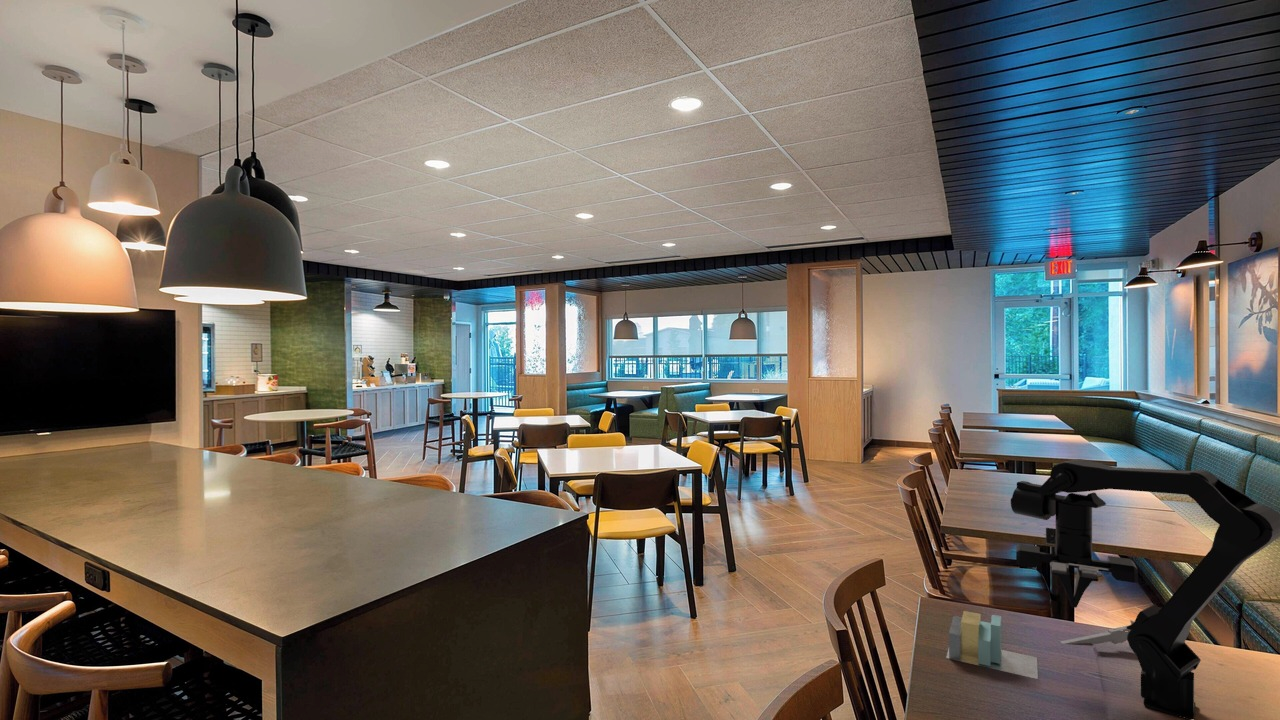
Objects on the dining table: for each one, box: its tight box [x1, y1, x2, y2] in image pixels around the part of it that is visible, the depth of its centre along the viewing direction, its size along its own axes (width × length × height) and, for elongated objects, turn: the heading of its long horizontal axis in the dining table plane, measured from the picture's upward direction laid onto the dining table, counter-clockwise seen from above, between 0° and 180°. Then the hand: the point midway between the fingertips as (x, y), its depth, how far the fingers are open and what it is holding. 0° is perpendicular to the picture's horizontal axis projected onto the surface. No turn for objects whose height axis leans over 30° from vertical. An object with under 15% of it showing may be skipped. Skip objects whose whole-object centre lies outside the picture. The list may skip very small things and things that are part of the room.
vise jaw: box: [978, 614, 1003, 666], centre depth 119 cm, size 4×9×7 cm, turn 147°
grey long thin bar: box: [1060, 619, 1135, 645], centre depth 124 cm, size 20×1×6 cm, turn 90°
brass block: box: [961, 610, 982, 661], centre depth 120 cm, size 3×6×7 cm, turn 148°
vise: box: [945, 615, 1039, 680], centre depth 119 cm, size 15×9×6 cm, turn 57°
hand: (1073, 606), depth 117 cm, fingers closed
